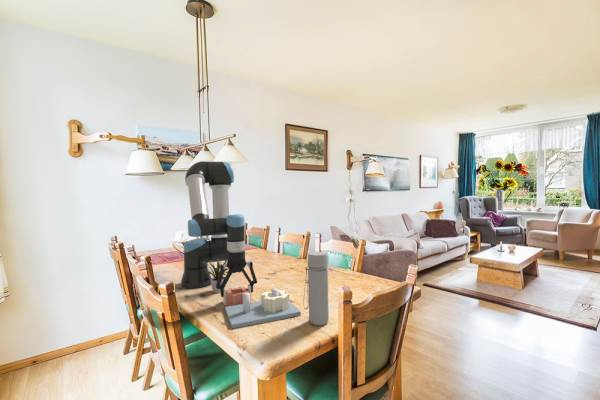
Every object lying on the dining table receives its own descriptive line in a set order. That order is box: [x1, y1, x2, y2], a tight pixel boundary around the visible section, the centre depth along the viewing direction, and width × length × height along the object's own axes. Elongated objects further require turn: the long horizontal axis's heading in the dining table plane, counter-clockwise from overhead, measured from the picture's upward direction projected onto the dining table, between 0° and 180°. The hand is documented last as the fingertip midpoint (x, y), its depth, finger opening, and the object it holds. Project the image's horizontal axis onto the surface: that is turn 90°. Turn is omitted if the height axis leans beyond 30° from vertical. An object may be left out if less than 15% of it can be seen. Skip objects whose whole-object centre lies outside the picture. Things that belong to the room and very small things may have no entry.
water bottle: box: [302, 251, 330, 326], centre depth 103 cm, size 9×8×25 cm
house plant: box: [204, 258, 229, 294], centre depth 137 cm, size 14×14×16 cm
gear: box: [225, 286, 250, 307], centre depth 123 cm, size 10×10×5 cm
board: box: [224, 287, 302, 329], centre depth 112 cm, size 17×26×8 cm, turn 113°
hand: (237, 301), depth 123 cm, fingers closed on gear, 10 cm apart
